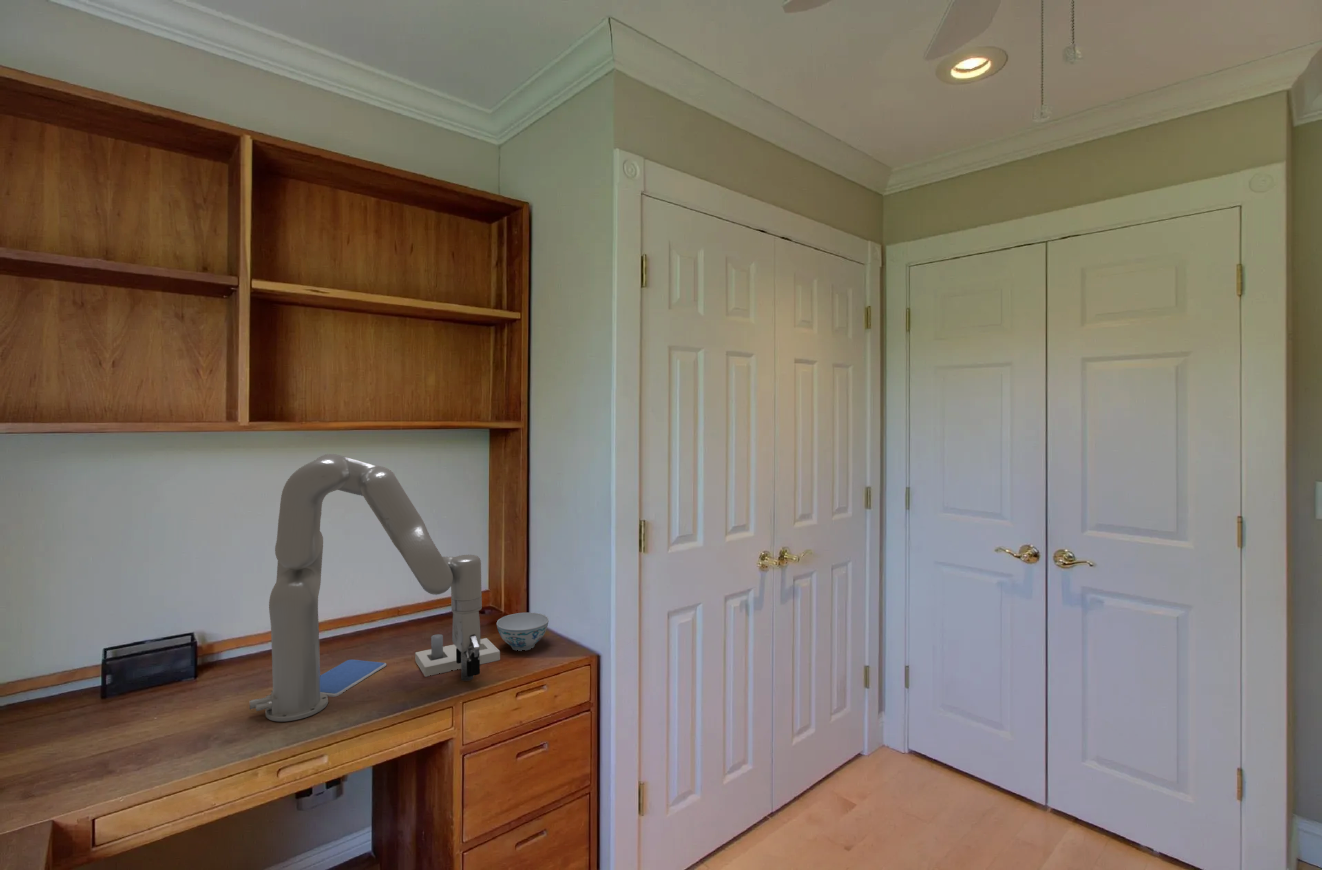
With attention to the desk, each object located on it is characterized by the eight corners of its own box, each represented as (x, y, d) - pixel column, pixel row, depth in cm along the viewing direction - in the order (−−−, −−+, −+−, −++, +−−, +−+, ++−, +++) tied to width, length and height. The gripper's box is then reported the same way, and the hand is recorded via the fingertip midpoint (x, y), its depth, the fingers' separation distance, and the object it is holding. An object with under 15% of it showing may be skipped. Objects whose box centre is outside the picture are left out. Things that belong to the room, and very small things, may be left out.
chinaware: (485, 650, 180) (485, 624, 180) (521, 634, 193) (521, 609, 193) (525, 660, 173) (524, 633, 173) (559, 643, 186) (559, 617, 186)
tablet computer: (336, 699, 151) (335, 694, 151) (292, 694, 154) (292, 689, 154) (388, 667, 170) (388, 662, 170) (348, 663, 173) (348, 658, 173)
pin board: (425, 676, 162) (424, 646, 162) (415, 661, 172) (414, 632, 172) (499, 660, 173) (499, 631, 173) (486, 646, 183) (486, 619, 183)
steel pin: (463, 682, 159) (462, 651, 159) (460, 677, 162) (459, 647, 162) (474, 679, 161) (474, 648, 161) (471, 675, 164) (471, 645, 163)
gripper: (443, 597, 166) (444, 660, 167) (461, 615, 151) (462, 684, 152) (471, 593, 170) (472, 654, 171) (491, 610, 155) (492, 677, 156)
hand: (467, 668), depth 161 cm, fingers open, 9 cm apart
